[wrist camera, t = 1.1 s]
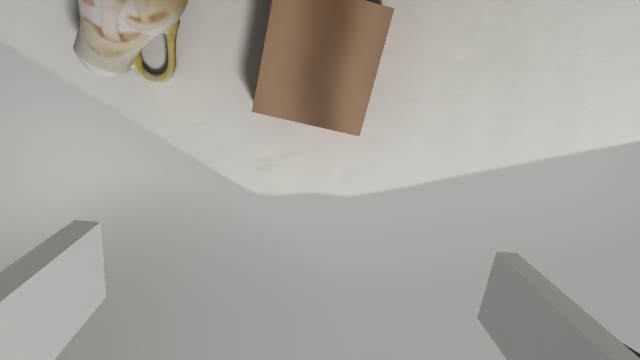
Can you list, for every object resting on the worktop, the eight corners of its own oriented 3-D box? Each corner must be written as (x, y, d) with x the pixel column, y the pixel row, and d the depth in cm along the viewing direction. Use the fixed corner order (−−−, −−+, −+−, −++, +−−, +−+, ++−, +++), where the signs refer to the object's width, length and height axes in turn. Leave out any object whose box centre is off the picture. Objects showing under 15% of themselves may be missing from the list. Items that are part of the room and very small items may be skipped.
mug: (66, 53, 30) (-21, -43, 20) (156, -15, 32) (116, -128, 23) (135, 113, 30) (80, 46, 20) (218, 41, 32) (205, -49, 23)
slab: (256, 106, 32) (251, 111, 29) (278, -15, 29) (276, -25, 26) (352, 128, 33) (359, 136, 30) (383, 14, 30) (394, 8, 27)
